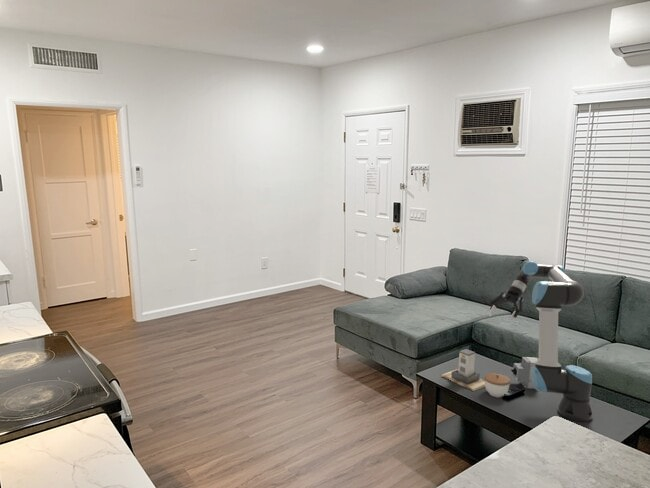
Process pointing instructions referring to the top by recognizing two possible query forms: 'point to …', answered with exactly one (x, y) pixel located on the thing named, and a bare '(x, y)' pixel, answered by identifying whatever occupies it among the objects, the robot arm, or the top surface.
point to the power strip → (466, 362)
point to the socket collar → (465, 379)
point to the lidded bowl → (496, 384)
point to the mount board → (471, 386)
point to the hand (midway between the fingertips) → (499, 318)
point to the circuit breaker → (524, 371)
